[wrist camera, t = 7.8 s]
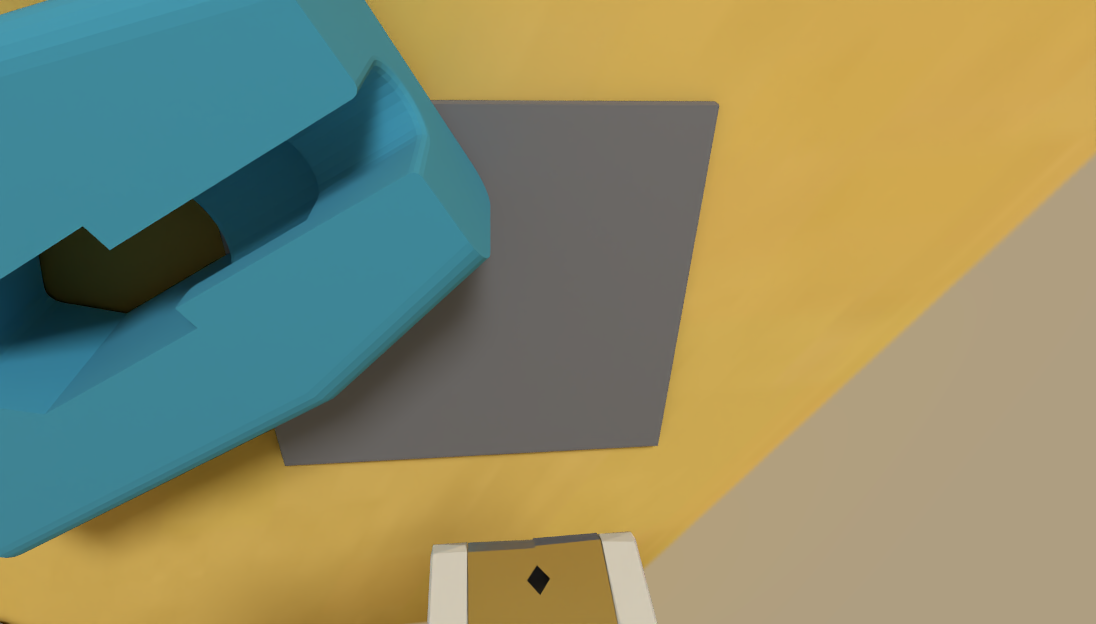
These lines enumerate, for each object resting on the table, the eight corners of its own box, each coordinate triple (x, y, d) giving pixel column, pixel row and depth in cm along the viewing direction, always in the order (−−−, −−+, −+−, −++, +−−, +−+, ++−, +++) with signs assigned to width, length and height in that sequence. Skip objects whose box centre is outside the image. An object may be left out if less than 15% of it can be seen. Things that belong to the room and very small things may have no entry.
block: (263, -154, 15) (-244, 231, 20) (179, -161, 11) (-437, 328, 16) (517, 232, 22) (91, 457, 26) (524, 318, 17) (17, 568, 22)
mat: (655, 438, 29) (657, 445, 28) (287, 458, 27) (284, 465, 27) (715, 101, 20) (719, 105, 20) (188, 99, 19) (183, 103, 18)
